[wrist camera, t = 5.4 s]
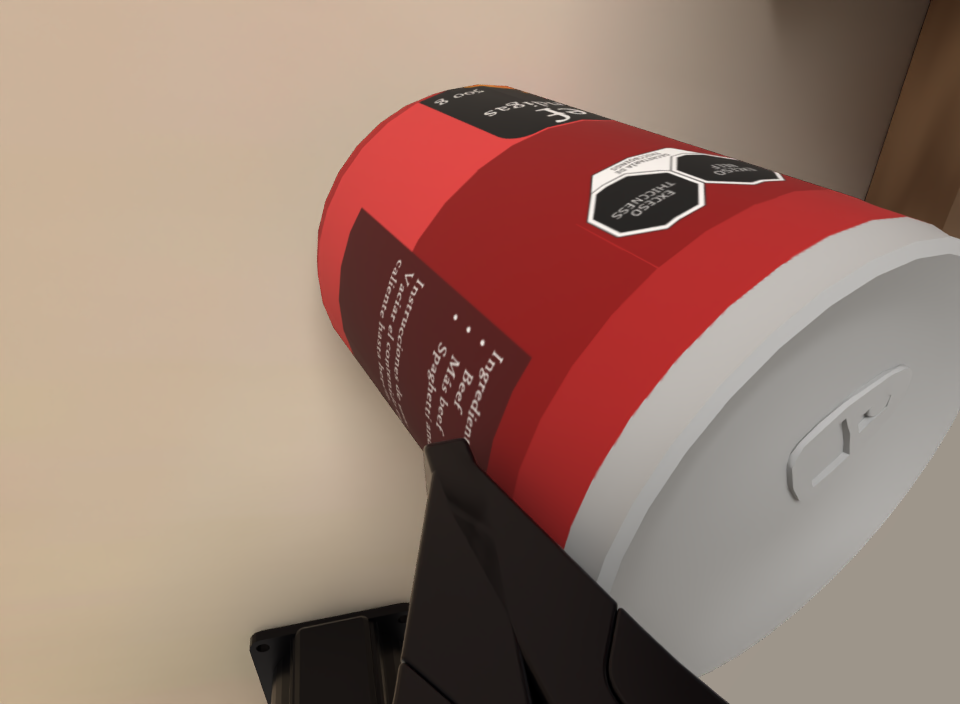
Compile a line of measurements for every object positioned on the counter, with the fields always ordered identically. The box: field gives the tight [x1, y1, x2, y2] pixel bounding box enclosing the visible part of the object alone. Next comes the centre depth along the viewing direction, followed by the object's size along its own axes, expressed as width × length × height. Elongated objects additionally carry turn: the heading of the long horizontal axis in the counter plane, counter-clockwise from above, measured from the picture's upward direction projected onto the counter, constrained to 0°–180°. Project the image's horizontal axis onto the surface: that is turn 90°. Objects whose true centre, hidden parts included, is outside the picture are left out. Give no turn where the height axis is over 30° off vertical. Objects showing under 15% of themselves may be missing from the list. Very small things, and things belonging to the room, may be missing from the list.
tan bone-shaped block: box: [865, 0, 960, 239], centre depth 19 cm, size 16×7×3 cm, turn 1°
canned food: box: [317, 85, 960, 677], centre depth 13 cm, size 8×8×11 cm
